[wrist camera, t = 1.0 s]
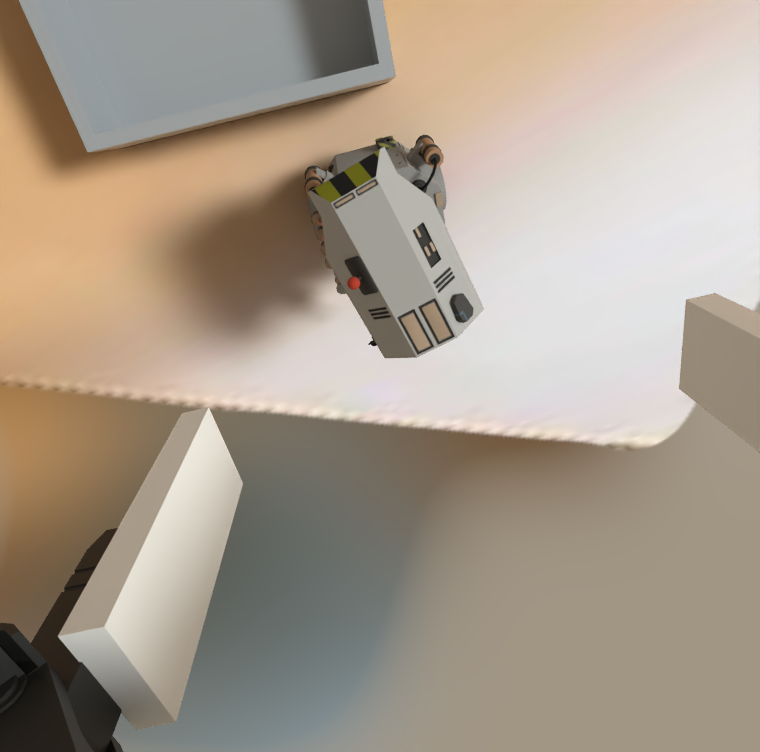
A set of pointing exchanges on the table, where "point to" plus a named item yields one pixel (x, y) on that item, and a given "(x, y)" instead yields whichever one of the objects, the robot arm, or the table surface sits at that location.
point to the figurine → (393, 244)
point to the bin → (202, 60)
